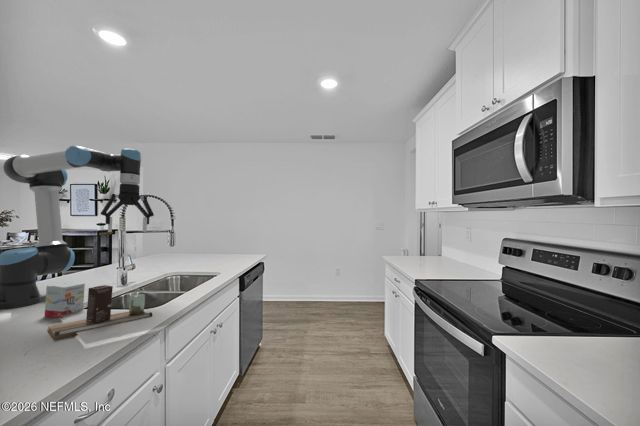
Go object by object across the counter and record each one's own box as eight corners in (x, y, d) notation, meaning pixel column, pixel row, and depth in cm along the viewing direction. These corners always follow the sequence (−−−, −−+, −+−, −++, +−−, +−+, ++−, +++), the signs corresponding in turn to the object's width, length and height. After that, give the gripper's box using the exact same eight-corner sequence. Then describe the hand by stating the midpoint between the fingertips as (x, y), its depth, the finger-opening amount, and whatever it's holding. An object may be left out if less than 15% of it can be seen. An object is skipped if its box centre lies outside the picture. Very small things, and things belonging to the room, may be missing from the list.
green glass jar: (127, 313, 117) (127, 295, 117) (141, 310, 121) (142, 293, 121) (131, 316, 114) (132, 297, 114) (146, 313, 118) (146, 295, 118)
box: (95, 324, 105) (96, 289, 105) (85, 322, 106) (87, 288, 107) (111, 319, 111) (113, 285, 111) (102, 317, 112) (104, 284, 112)
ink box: (62, 318, 113) (63, 286, 113) (43, 316, 115) (45, 285, 115) (84, 312, 122) (85, 282, 122) (66, 310, 123) (68, 281, 124)
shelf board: (48, 330, 102) (48, 322, 102) (140, 312, 123) (140, 306, 123) (55, 340, 94) (55, 332, 94) (152, 319, 115) (152, 312, 115)
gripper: (98, 180, 124) (96, 232, 123) (162, 186, 143) (160, 231, 142) (93, 181, 129) (91, 231, 128) (156, 187, 148) (154, 231, 147)
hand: (127, 231), depth 135 cm, fingers open, 13 cm apart
